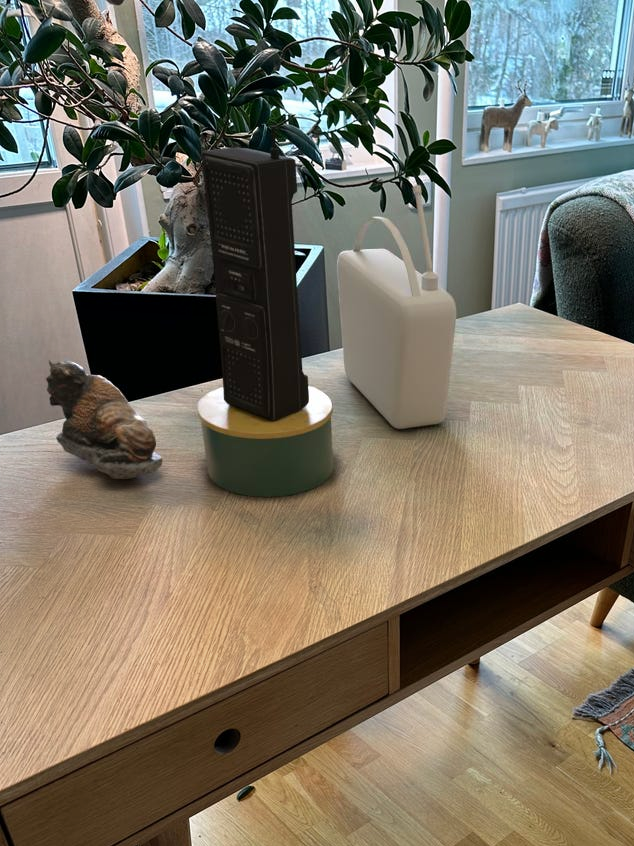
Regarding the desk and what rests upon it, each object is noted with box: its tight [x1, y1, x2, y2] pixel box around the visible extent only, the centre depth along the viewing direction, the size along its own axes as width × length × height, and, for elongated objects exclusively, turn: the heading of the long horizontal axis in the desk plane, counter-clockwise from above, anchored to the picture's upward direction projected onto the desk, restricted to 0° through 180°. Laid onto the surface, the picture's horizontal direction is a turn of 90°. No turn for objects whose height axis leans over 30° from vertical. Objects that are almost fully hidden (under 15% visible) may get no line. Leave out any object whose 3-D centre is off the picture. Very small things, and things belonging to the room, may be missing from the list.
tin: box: [196, 385, 334, 498], centre depth 91 cm, size 13×13×7 cm
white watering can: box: [336, 184, 457, 430], centre depth 102 cm, size 22×8×25 cm, turn 26°
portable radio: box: [201, 125, 309, 421], centre depth 82 cm, size 8×6×25 cm
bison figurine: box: [45, 359, 164, 480], centre depth 88 cm, size 12×7×10 cm, turn 59°
